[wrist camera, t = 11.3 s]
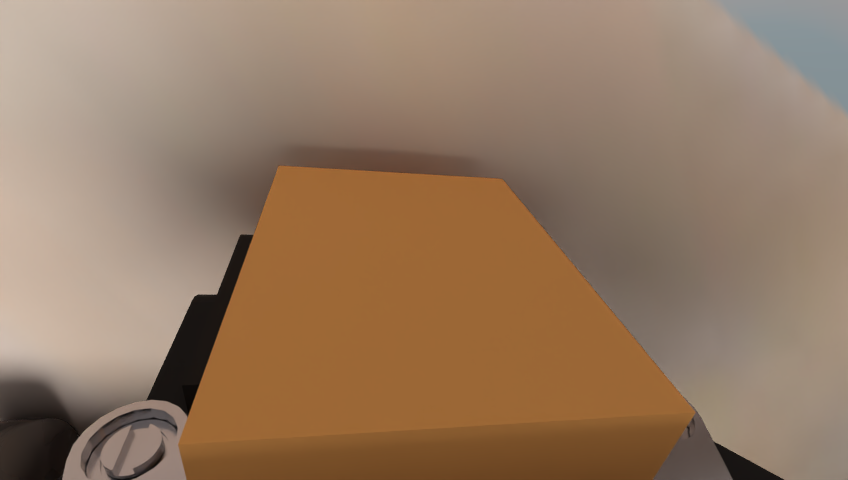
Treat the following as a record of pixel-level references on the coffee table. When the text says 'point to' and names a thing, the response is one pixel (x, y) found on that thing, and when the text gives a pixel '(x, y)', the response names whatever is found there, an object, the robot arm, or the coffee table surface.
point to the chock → (420, 345)
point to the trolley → (34, 448)
